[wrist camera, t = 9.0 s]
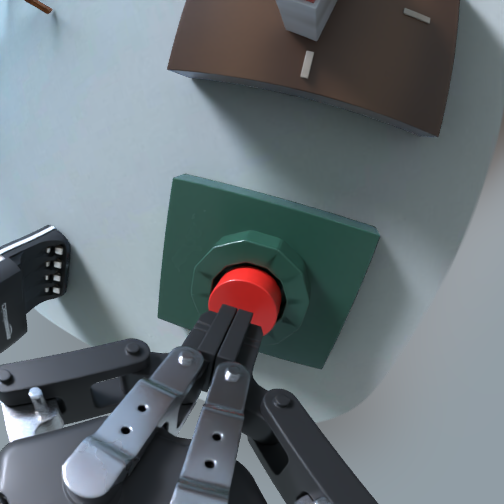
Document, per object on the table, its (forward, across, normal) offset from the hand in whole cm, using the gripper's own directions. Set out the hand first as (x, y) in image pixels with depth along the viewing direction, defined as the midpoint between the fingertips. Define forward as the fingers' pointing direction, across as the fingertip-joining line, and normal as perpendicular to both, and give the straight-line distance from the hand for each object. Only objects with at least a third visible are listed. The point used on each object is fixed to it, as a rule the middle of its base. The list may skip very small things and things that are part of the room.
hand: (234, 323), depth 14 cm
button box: (+6, 0, 0) cm, 6 cm away
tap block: (+6, 0, -17) cm, 18 cm away
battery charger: (+6, +17, +5) cm, 19 cm away
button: (+3, 0, 0) cm, 3 cm away
